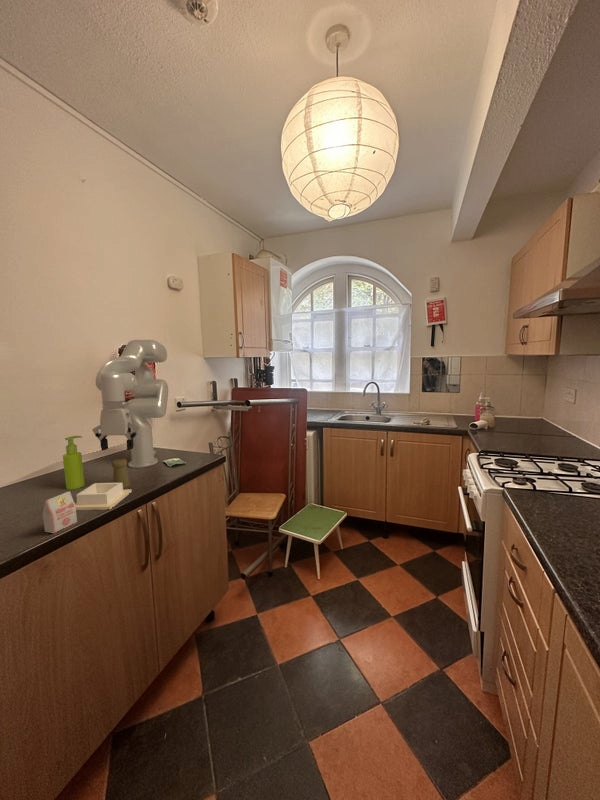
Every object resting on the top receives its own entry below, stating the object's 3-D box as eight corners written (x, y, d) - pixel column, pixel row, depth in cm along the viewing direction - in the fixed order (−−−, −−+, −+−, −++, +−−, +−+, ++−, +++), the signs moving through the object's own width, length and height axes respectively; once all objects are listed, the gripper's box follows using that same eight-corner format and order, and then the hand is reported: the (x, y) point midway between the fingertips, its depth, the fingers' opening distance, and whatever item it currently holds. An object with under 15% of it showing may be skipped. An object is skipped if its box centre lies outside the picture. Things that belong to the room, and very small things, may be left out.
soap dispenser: (90, 484, 126) (85, 435, 123) (72, 490, 120) (66, 439, 117) (81, 481, 128) (76, 434, 126) (63, 488, 122) (57, 438, 120)
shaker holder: (93, 492, 117) (92, 481, 117) (131, 491, 118) (130, 480, 117) (67, 510, 104) (66, 497, 103) (110, 509, 104) (108, 496, 103)
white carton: (45, 532, 90) (40, 499, 89) (68, 521, 97) (65, 490, 95) (53, 534, 89) (50, 501, 88) (77, 523, 95) (73, 491, 94)
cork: (122, 489, 120) (119, 462, 119) (108, 488, 121) (106, 461, 120) (133, 483, 126) (131, 457, 125) (120, 482, 127) (118, 456, 126)
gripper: (141, 404, 123) (144, 446, 125) (97, 405, 123) (100, 447, 125) (132, 406, 116) (135, 451, 118) (84, 407, 115) (88, 452, 117)
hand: (117, 449), depth 121 cm, fingers open, 9 cm apart
